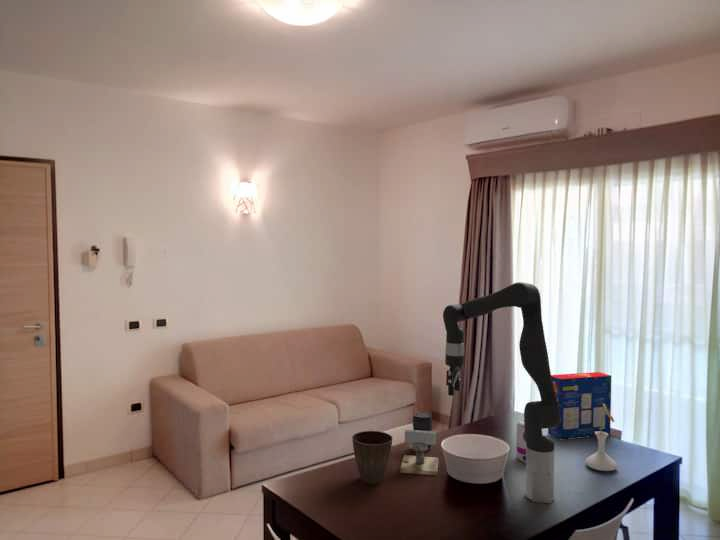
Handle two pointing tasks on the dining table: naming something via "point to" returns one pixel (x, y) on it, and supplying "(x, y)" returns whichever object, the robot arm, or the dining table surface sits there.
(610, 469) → the flower in vase
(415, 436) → the collar
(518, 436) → the supplement can
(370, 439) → the plant pot
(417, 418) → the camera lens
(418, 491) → the dining table surface
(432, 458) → the post base
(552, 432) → the blue product box
